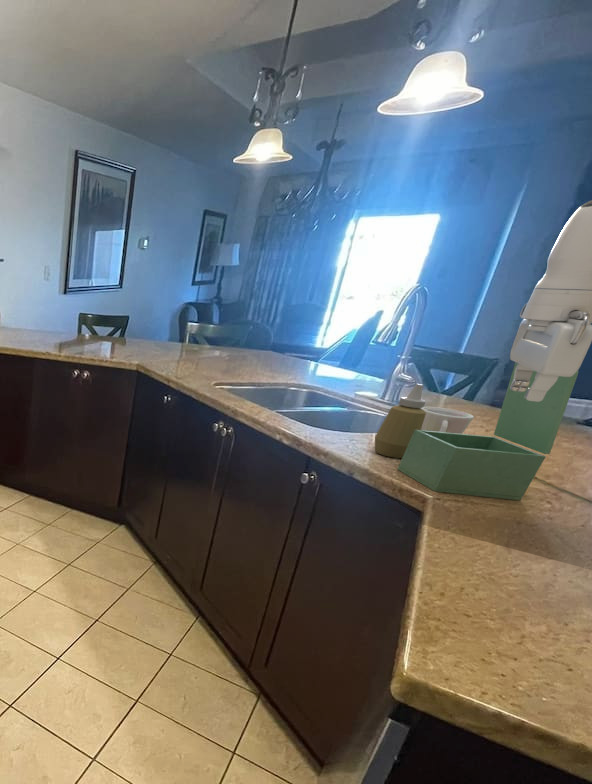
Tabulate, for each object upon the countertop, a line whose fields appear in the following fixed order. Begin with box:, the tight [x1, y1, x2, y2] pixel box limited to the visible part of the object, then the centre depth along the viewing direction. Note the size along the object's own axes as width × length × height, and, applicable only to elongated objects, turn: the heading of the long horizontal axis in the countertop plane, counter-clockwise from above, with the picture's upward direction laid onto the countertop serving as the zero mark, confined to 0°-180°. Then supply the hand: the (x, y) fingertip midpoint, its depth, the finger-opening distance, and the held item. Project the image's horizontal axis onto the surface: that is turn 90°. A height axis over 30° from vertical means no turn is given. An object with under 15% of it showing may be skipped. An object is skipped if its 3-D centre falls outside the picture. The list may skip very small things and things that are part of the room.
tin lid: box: [493, 362, 580, 455], centre depth 99 cm, size 16×13×1 cm
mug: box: [421, 406, 475, 434], centre depth 127 cm, size 10×15×10 cm
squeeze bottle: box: [374, 383, 427, 459], centre depth 120 cm, size 8×8×18 cm
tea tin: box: [396, 430, 547, 501], centre depth 105 cm, size 16×13×10 cm
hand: (524, 395), depth 83 cm, fingers open, 8 cm apart
